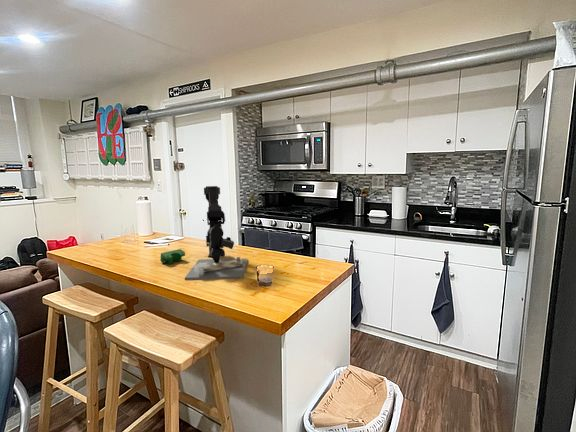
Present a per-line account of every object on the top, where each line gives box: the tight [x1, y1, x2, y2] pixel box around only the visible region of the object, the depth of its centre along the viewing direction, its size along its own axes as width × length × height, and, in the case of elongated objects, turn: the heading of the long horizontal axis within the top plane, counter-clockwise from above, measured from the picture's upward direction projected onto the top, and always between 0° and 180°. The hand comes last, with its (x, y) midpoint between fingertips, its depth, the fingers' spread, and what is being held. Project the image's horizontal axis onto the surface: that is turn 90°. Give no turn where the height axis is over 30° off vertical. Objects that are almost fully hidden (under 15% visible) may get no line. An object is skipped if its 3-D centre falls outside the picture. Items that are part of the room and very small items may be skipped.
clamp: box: [160, 248, 186, 265], centre depth 167 cm, size 12×6×9 cm, turn 133°
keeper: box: [193, 261, 214, 277], centre depth 146 cm, size 8×7×5 cm
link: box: [203, 256, 243, 272], centre depth 153 cm, size 20×4×4 cm, turn 120°
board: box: [184, 258, 248, 281], centre depth 155 cm, size 28×26×1 cm
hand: (217, 265), depth 155 cm, fingers closed
